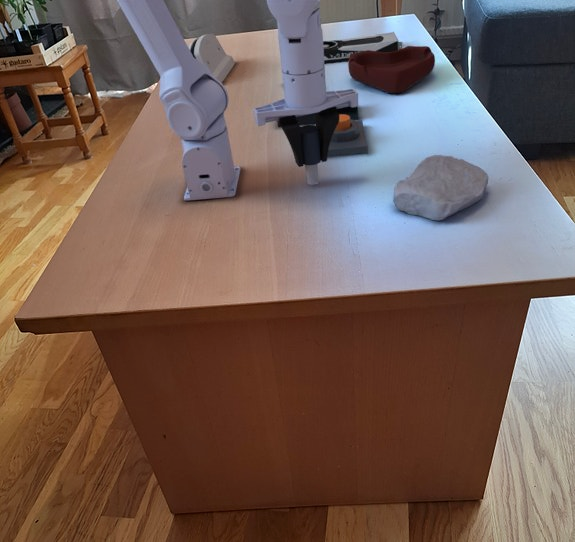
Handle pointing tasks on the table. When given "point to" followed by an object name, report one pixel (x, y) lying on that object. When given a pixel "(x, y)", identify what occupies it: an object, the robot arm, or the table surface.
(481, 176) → the stone block
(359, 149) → the station
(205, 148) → the robot arm
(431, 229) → the table surface
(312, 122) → the holder
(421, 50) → the ashtray
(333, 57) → the graphics card
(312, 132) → the grey and white cylinder
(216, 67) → the hinge
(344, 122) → the power button
